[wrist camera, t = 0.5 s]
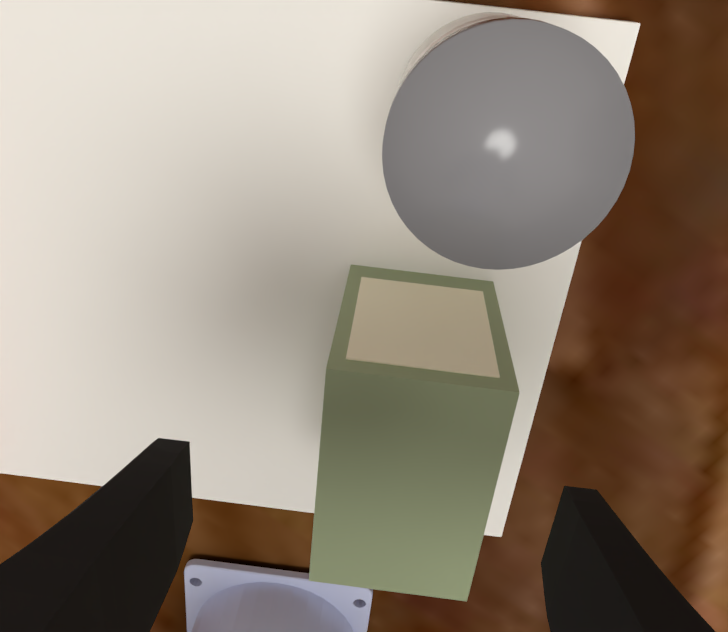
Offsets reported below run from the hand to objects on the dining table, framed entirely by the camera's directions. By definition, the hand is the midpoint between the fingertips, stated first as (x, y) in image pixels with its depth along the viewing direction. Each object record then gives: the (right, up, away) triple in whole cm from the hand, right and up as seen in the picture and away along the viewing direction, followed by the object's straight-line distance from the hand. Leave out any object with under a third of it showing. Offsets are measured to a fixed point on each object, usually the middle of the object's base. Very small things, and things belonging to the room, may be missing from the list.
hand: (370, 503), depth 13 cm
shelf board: (-5, +5, +9) cm, 11 cm away
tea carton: (+1, +2, +9) cm, 9 cm away
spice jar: (+3, +9, +5) cm, 11 cm away
